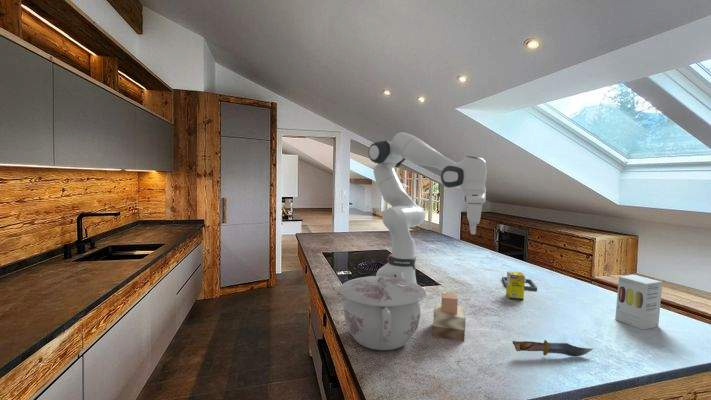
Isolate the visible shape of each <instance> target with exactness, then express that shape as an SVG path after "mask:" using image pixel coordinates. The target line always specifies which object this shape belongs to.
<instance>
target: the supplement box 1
mask: <svg viewBox="0 0 711 400" xmlns="http://www.w3.org/2000/svg"><path fill="white" fill-rule="evenodd" d="M506 277H507V280H506V282H507V287H505V288H506V289H505V290H506V293H505V295H506V297H507V298H508V299H509V300H514V301H515V300H517V301H524V297H525V290H524V284H525V282H524V281H525V278H526V276H525V275H524V274H523V272H522V271H521V272H520V271H509V270H507V272H506Z"/></svg>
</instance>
